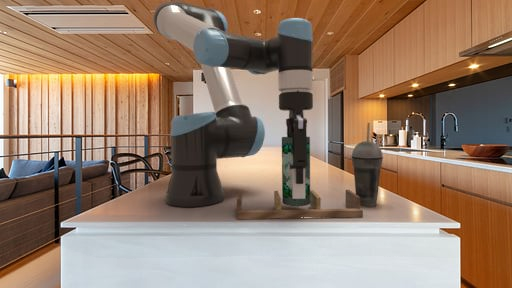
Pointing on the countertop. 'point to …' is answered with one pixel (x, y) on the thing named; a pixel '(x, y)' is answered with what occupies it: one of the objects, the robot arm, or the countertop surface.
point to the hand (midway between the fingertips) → (296, 194)
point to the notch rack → (315, 210)
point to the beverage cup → (367, 171)
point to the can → (287, 174)
